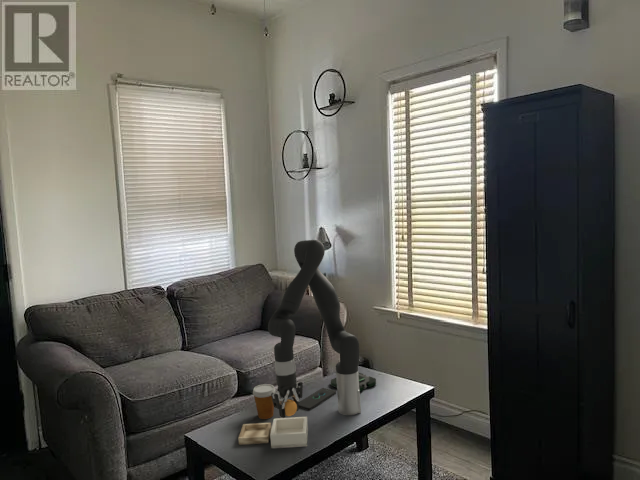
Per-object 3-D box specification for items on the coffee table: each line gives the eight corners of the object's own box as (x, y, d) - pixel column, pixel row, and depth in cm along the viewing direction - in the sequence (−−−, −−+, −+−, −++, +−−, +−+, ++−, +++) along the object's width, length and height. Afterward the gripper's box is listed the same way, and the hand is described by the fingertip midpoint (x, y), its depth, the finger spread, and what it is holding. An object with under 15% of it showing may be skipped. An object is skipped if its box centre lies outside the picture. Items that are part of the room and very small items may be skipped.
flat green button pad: (354, 375, 241) (353, 366, 240) (380, 385, 227) (380, 375, 226) (326, 386, 230) (326, 376, 229) (352, 397, 216) (352, 387, 215)
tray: (271, 428, 190) (270, 422, 190) (268, 442, 179) (267, 436, 179) (243, 430, 191) (243, 424, 190) (238, 444, 180) (238, 438, 179)
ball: (298, 410, 184) (296, 395, 183) (297, 418, 178) (295, 402, 177) (282, 412, 184) (280, 397, 183) (281, 419, 178) (279, 404, 177)
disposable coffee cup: (273, 421, 196) (271, 393, 195) (251, 420, 198) (249, 392, 197) (280, 410, 206) (278, 383, 204) (258, 410, 208) (256, 383, 206)
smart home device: (337, 390, 220) (309, 407, 204) (337, 394, 220) (310, 411, 204) (322, 387, 225) (294, 403, 209) (322, 390, 225) (295, 407, 209)
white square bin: (307, 428, 188) (307, 416, 188) (306, 446, 175) (306, 433, 175) (274, 430, 188) (273, 418, 188) (271, 448, 175) (270, 435, 175)
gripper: (293, 362, 187) (296, 404, 189) (264, 374, 177) (268, 418, 179) (306, 366, 182) (310, 409, 183) (277, 379, 171) (281, 424, 173)
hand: (289, 413), depth 181 cm, fingers closed on ball, 6 cm apart
